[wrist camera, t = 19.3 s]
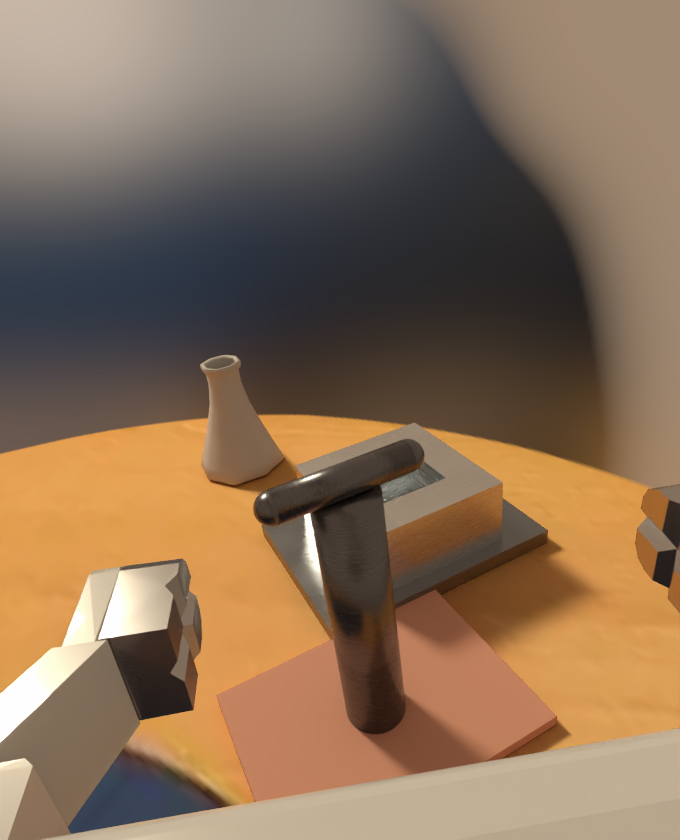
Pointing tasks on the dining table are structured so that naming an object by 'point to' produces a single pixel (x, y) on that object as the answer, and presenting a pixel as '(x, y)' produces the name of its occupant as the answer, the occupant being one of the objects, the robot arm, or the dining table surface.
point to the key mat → (411, 739)
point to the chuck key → (355, 572)
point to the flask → (234, 428)
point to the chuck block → (419, 524)
